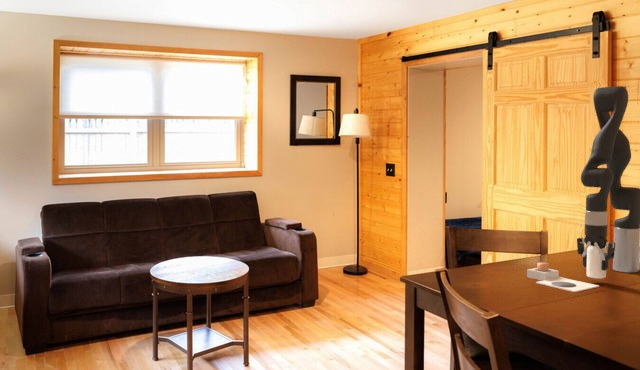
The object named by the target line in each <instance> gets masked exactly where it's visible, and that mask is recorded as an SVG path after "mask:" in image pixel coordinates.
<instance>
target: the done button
mask: <svg viewBox="0 0 640 370" xmlns="http://www.w3.org/2000/svg"><path fill="white" fill-rule="evenodd" d="M536 265H537V267H536V268H537V271H542V272H547V271H548V269H550V268H549V266H550V265H549V262H542V261H541V262H540V261H539V262H537V264H536Z"/></svg>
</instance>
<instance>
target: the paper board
mask: <svg viewBox="0 0 640 370" xmlns="http://www.w3.org/2000/svg"><path fill="white" fill-rule="evenodd" d="M535 284H537V285H542V286H547V287H551V288H556V289H559V290H562V291H568V292H572V293H579V292H583V291H586V290H591V289H595V288H599V287H600V285H599V284H593V283H589V282H585V281H584V282H583V281H580V280H575V279H570V278H565V277H562V276H559V277H558V278H554V279H549V280H544V281H541V280H538V281H536V282H535Z"/></svg>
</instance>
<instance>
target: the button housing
mask: <svg viewBox="0 0 640 370" xmlns="http://www.w3.org/2000/svg"><path fill="white" fill-rule="evenodd" d="M526 277H527V278H529V279H532V280H537V281H544V280H549V279H554V278H559V277H560V276H559V270H556V269H554V268H553V269H552V268H548V271H547V272H542V271H537V267H534V268H527V270H526Z"/></svg>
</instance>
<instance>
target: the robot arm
mask: <svg viewBox="0 0 640 370" xmlns="http://www.w3.org/2000/svg"><path fill="white" fill-rule="evenodd" d="M592 99H593V101H592V102H593V106H594V110H595V114H596V115H595V116H596V119H597V121H598V125H599V129H600V130H599V131H598V133H597V134H596V135H595V137H594V139H593V142H592V147H591V152H590V156H589V157H588V160H587V162H586V164H585V166H584V168H583V169H582V171H581V174H580V182H581V184H582V185H583V186H584V187H588V188H599V191H598V192H597V193H596V192H595V193H590V194H587V195H586V197H585V213H584V237H578V238H576V246H577V254H578V255H580V256H582V265H583V267H584V268H587V248H588V247H589V246H590V245H593V246H595V247H597V248H599V249H598V250H599V254H600V255H601V257H602V270H603V271H605V270H606V271H607V270H608V269H609V260H612V270H613V271H616V272H621V273H638V272H639V271H640V187H635V186H622V176H623V173H624V172H625V170H626V168H627V167H628V166H629V164H630V162H631V159H632V152H631V151H632V150H631V144H630V140H629V139H628V137H627V136H626V134H625V133H624V132H623V130H621V129H620V127H621V124H622V122H623V119H624V116H625V113H626V111H627V107H628V105H629V104H628V103H629V93H628V90H627V88H626V87H625V86H621V85H620V86H619V85H618V86H605V87H604V86H603V87H597V88H596V89H595V90H594V92H593V98H592ZM610 113H612V114H610ZM604 165H606V167H600V166H604ZM608 199H609V200H610V204H611V207H612V208H613V209H614V210H620V211H628V214H627V215H626V216H624V217H620V218H616V219H615V220H614V223H613V242H611V241H608V238H607V237H608V221H609V216H608V215H609V214H608ZM603 248H606V251H602V250H601V249H603ZM604 253H605V255H604Z"/></svg>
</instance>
